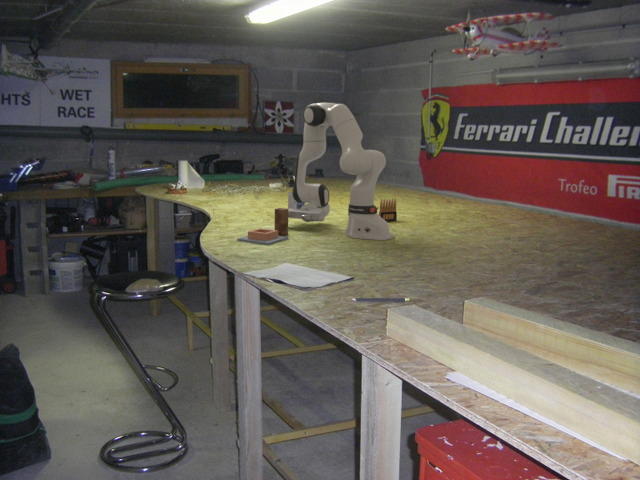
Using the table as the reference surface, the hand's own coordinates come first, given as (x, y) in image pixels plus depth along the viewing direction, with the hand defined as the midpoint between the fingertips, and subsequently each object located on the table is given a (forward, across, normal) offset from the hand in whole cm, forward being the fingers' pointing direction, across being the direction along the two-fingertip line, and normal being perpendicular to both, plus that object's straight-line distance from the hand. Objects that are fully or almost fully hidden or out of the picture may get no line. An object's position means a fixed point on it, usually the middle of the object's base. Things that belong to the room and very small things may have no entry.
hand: (294, 216), depth 295 cm
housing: (+27, 0, +7) cm, 28 cm away
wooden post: (+12, 0, +7) cm, 14 cm away
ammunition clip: (-54, +25, +7) cm, 60 cm away
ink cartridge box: (-44, -25, +7) cm, 51 cm away
